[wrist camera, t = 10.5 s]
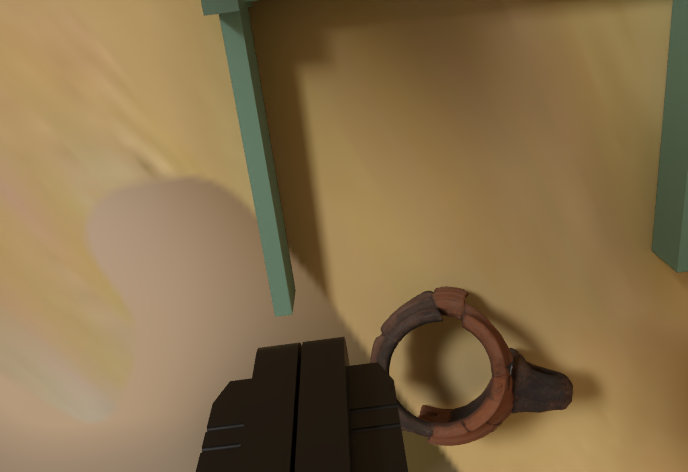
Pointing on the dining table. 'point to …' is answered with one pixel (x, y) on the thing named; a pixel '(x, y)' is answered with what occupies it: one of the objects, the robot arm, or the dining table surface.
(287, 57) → the dining table surface
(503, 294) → the dining table surface
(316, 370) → the robot arm
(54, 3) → the dining table surface
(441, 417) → the pottery mug
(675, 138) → the teal bars
